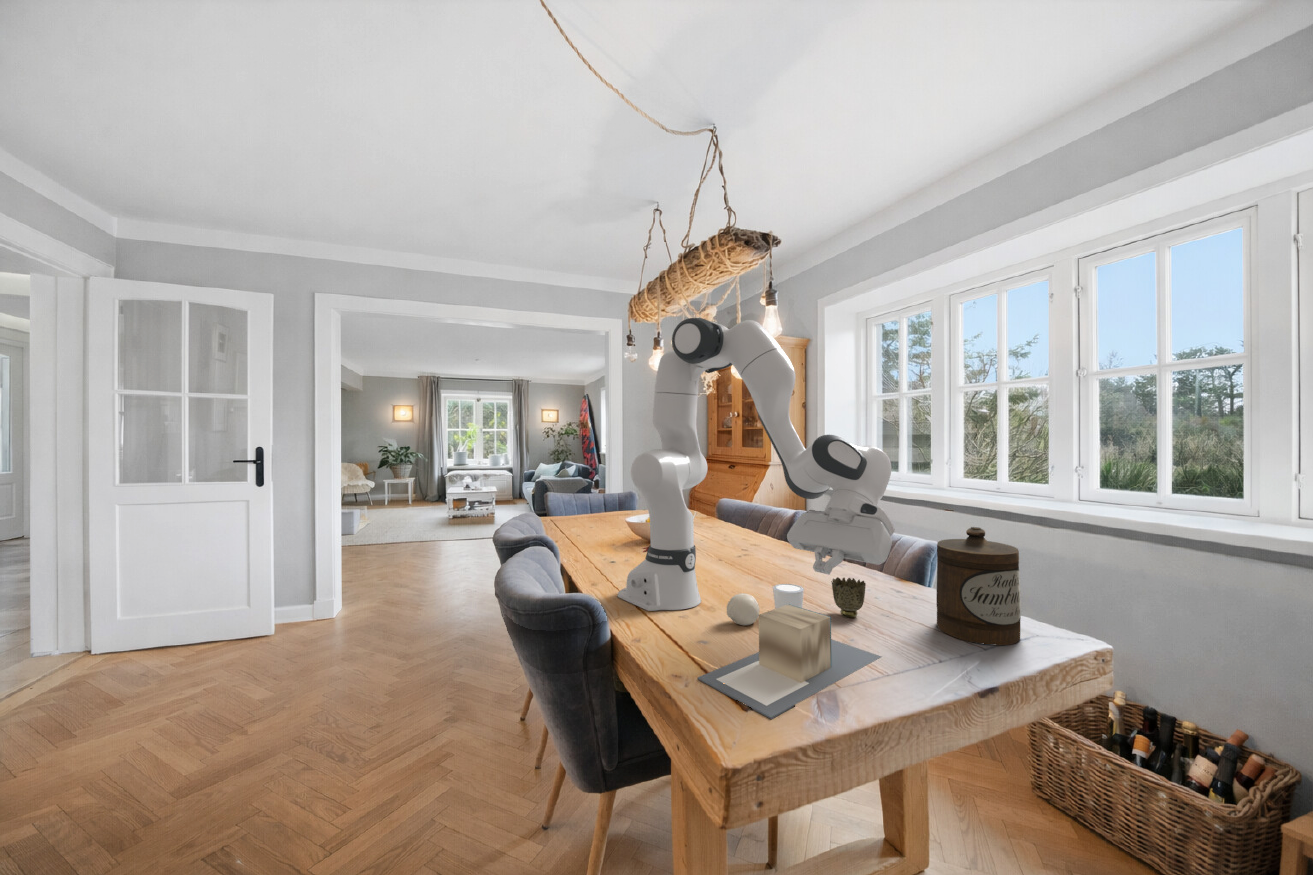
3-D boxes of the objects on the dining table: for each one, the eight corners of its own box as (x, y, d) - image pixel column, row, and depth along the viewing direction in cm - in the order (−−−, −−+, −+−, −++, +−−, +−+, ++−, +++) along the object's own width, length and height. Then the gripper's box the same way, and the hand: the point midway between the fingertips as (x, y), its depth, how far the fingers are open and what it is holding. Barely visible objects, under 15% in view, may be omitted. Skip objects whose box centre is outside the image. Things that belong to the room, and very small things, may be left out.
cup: (863, 623, 110) (863, 587, 110) (829, 618, 114) (828, 583, 114) (868, 613, 117) (867, 579, 117) (835, 608, 120) (834, 575, 120)
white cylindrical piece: (805, 624, 111) (805, 592, 111) (773, 622, 112) (773, 591, 112) (803, 613, 117) (802, 583, 117) (772, 612, 119) (772, 582, 119)
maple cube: (789, 604, 96) (758, 614, 91) (830, 616, 89) (800, 629, 84) (789, 650, 96) (759, 664, 91) (831, 667, 89) (801, 682, 84)
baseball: (721, 620, 114) (721, 591, 114) (751, 617, 115) (751, 588, 115) (733, 631, 107) (732, 600, 107) (764, 628, 109) (764, 597, 109)
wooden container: (980, 650, 96) (979, 536, 96) (921, 623, 110) (919, 523, 110) (1039, 640, 100) (1037, 531, 100) (974, 615, 114) (972, 519, 114)
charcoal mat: (808, 632, 106) (808, 631, 106) (881, 658, 93) (881, 656, 93) (697, 679, 86) (697, 677, 86) (771, 719, 74) (771, 717, 74)
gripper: (798, 500, 108) (769, 552, 102) (891, 509, 92) (864, 572, 86) (810, 518, 111) (783, 570, 105) (903, 531, 95) (877, 593, 89)
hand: (820, 571), depth 95 cm, fingers closed
